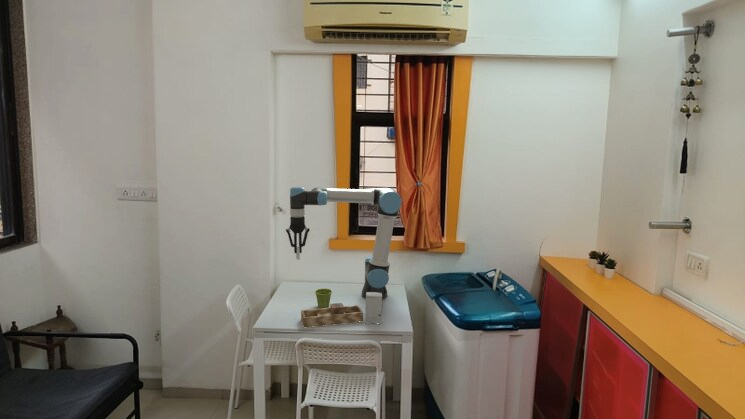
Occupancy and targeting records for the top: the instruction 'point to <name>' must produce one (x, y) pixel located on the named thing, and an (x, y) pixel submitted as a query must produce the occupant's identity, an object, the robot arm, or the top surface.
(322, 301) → the plant pot
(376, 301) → the skincare box
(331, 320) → the wooden cubby shelf
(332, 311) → the walnut block
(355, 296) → the top surface
